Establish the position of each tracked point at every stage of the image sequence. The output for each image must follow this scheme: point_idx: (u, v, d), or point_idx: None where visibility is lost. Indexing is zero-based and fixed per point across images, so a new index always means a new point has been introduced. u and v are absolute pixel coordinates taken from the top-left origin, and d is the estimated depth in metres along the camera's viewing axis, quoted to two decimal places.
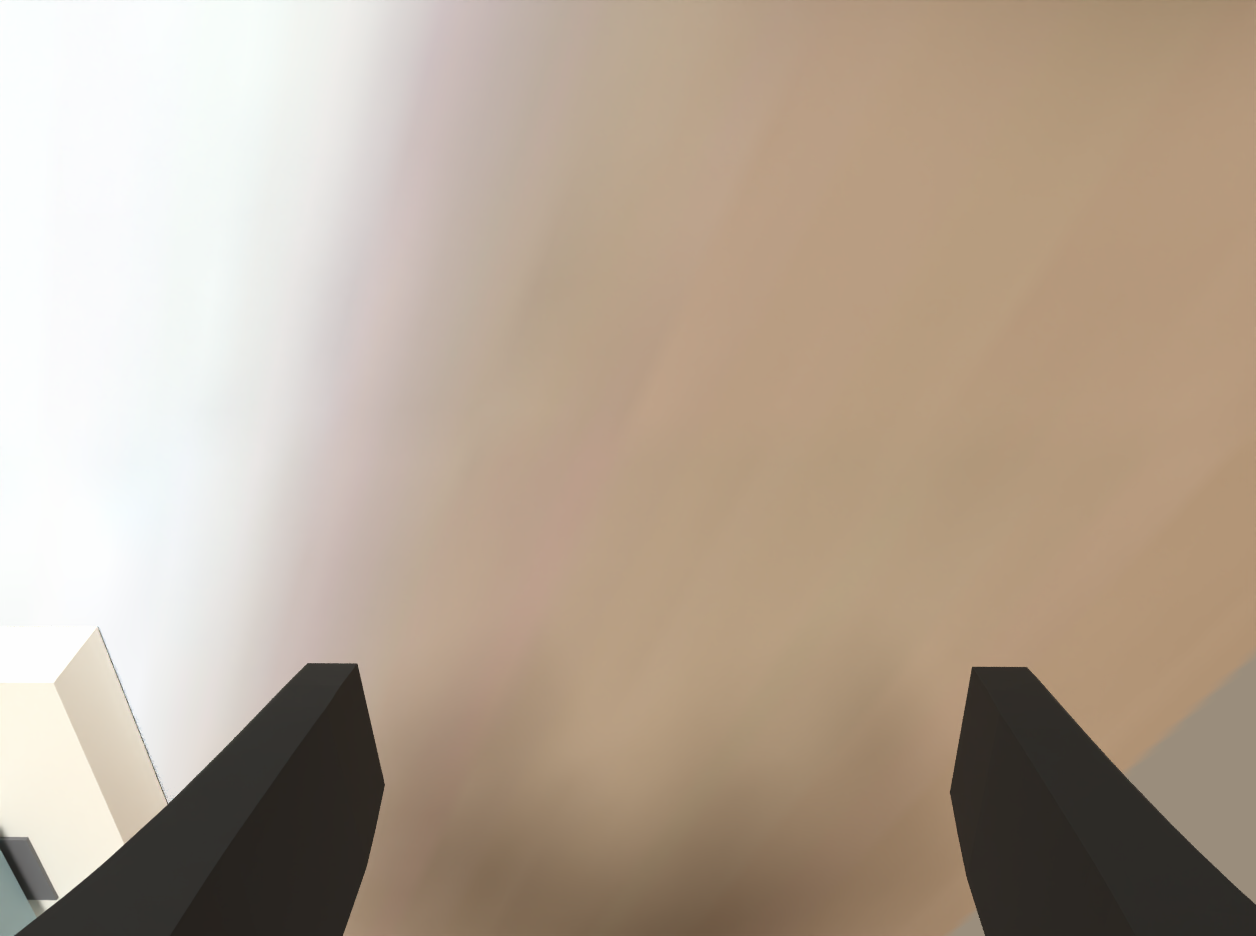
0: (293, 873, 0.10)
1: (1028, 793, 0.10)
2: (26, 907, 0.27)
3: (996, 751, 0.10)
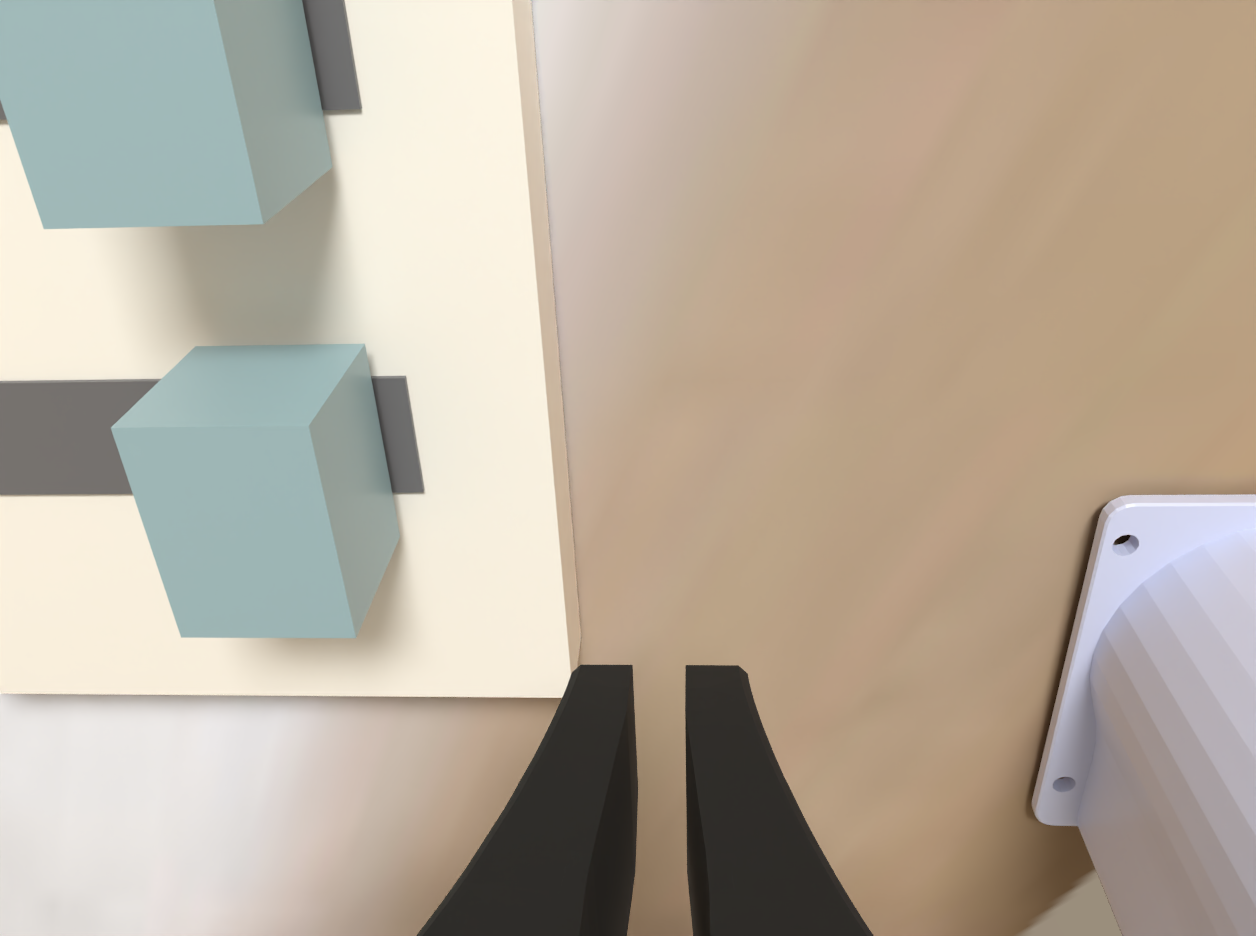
0: (612, 879, 0.10)
1: (693, 789, 0.10)
2: (317, 96, 0.15)
3: (687, 748, 0.11)
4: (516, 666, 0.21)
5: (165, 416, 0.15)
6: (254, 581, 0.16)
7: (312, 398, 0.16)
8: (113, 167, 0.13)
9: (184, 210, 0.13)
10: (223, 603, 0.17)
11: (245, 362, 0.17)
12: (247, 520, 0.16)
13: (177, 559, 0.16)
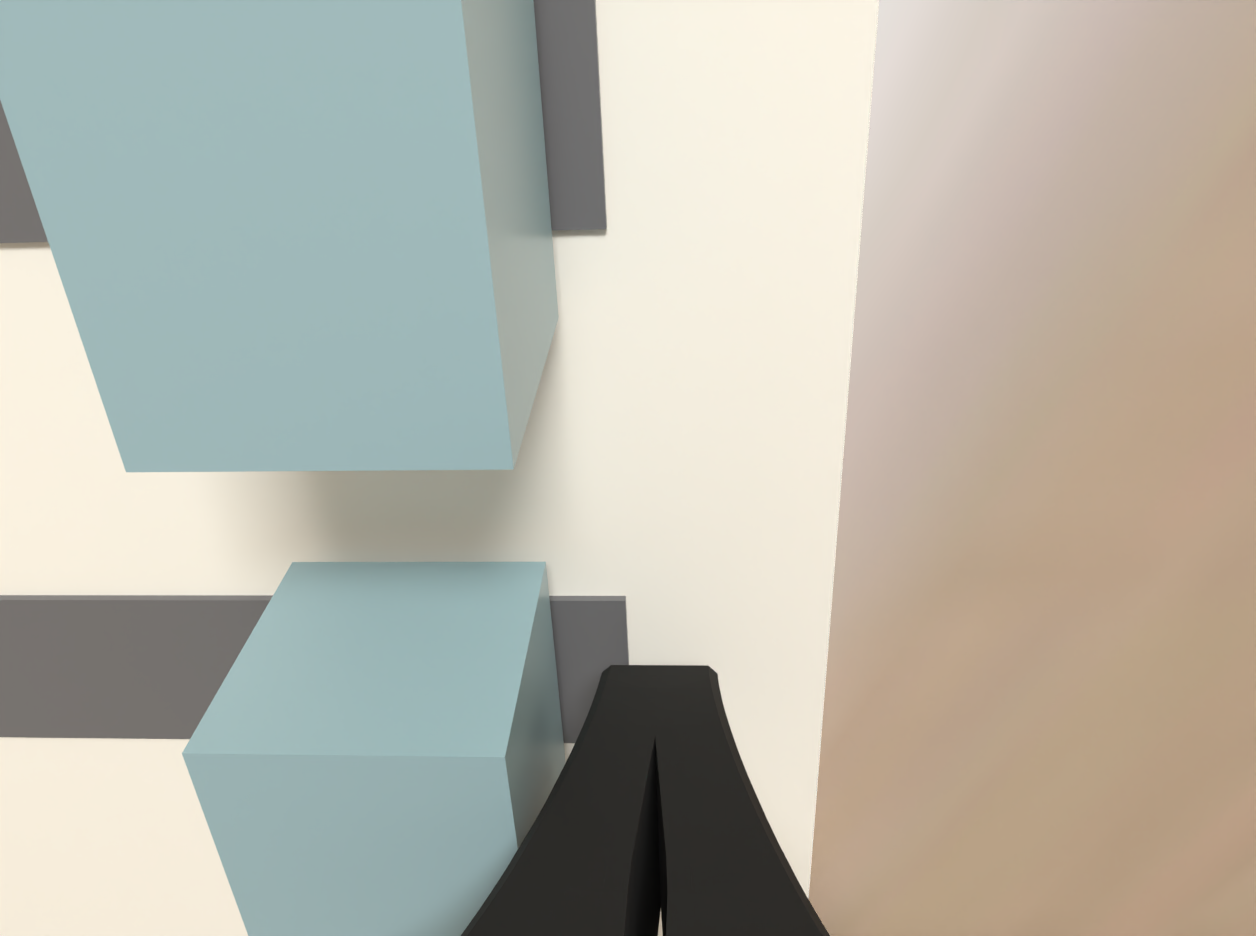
0: (647, 880, 0.10)
1: (658, 788, 0.10)
2: (549, 214, 0.09)
3: None
4: None
5: (267, 725, 0.10)
6: None
7: (495, 686, 0.10)
8: (254, 377, 0.07)
9: (375, 446, 0.08)
10: None
11: (373, 601, 0.11)
12: (391, 875, 0.10)
13: (277, 920, 0.10)
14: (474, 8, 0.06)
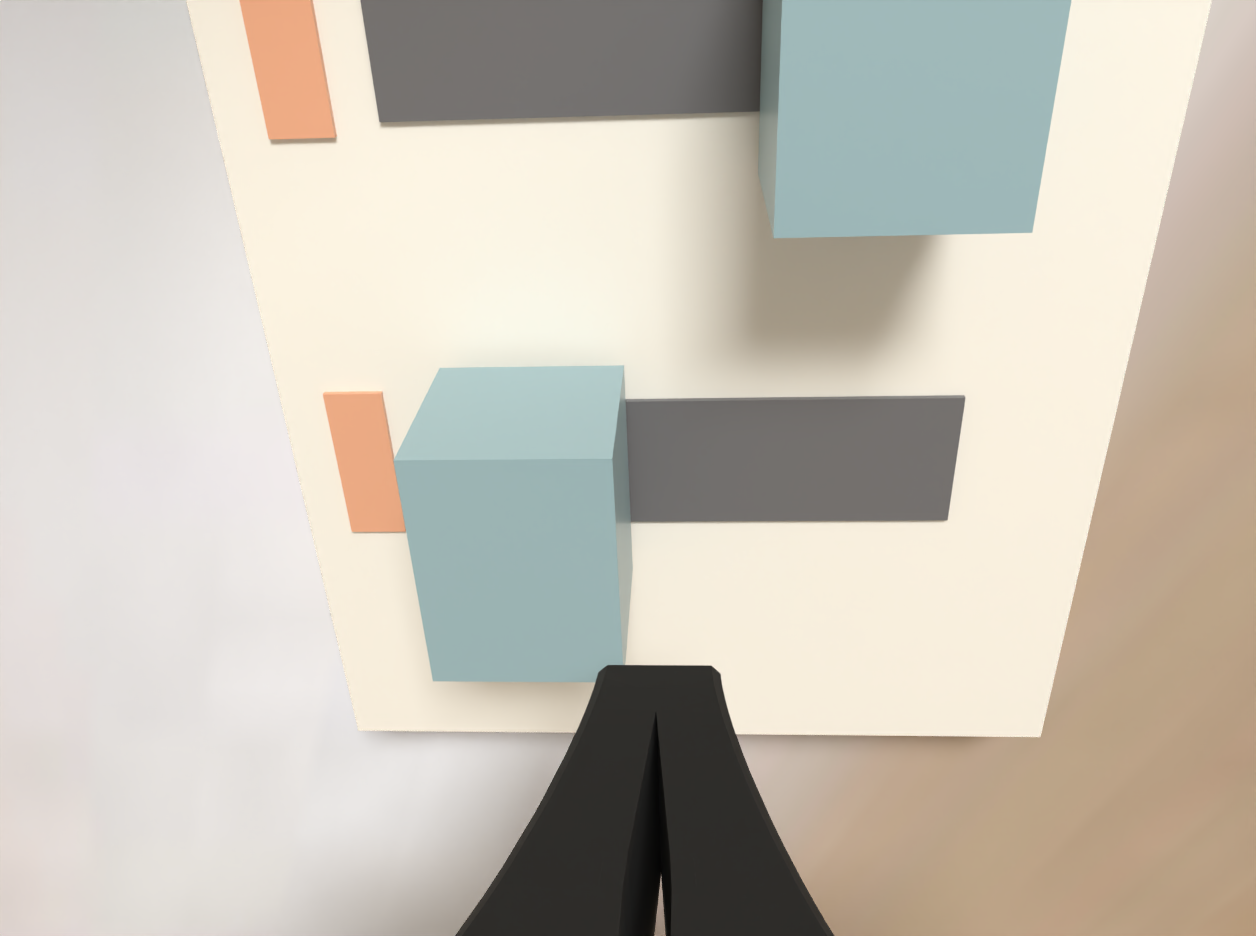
0: (643, 880, 0.10)
1: (662, 788, 0.10)
2: None
3: (658, 747, 0.11)
4: (988, 704, 0.20)
5: (446, 447, 0.14)
6: (523, 622, 0.15)
7: (599, 427, 0.14)
8: (880, 168, 0.12)
9: (944, 217, 0.12)
10: (485, 645, 0.15)
11: (504, 386, 0.16)
12: (527, 558, 0.15)
13: (443, 599, 0.15)
14: None
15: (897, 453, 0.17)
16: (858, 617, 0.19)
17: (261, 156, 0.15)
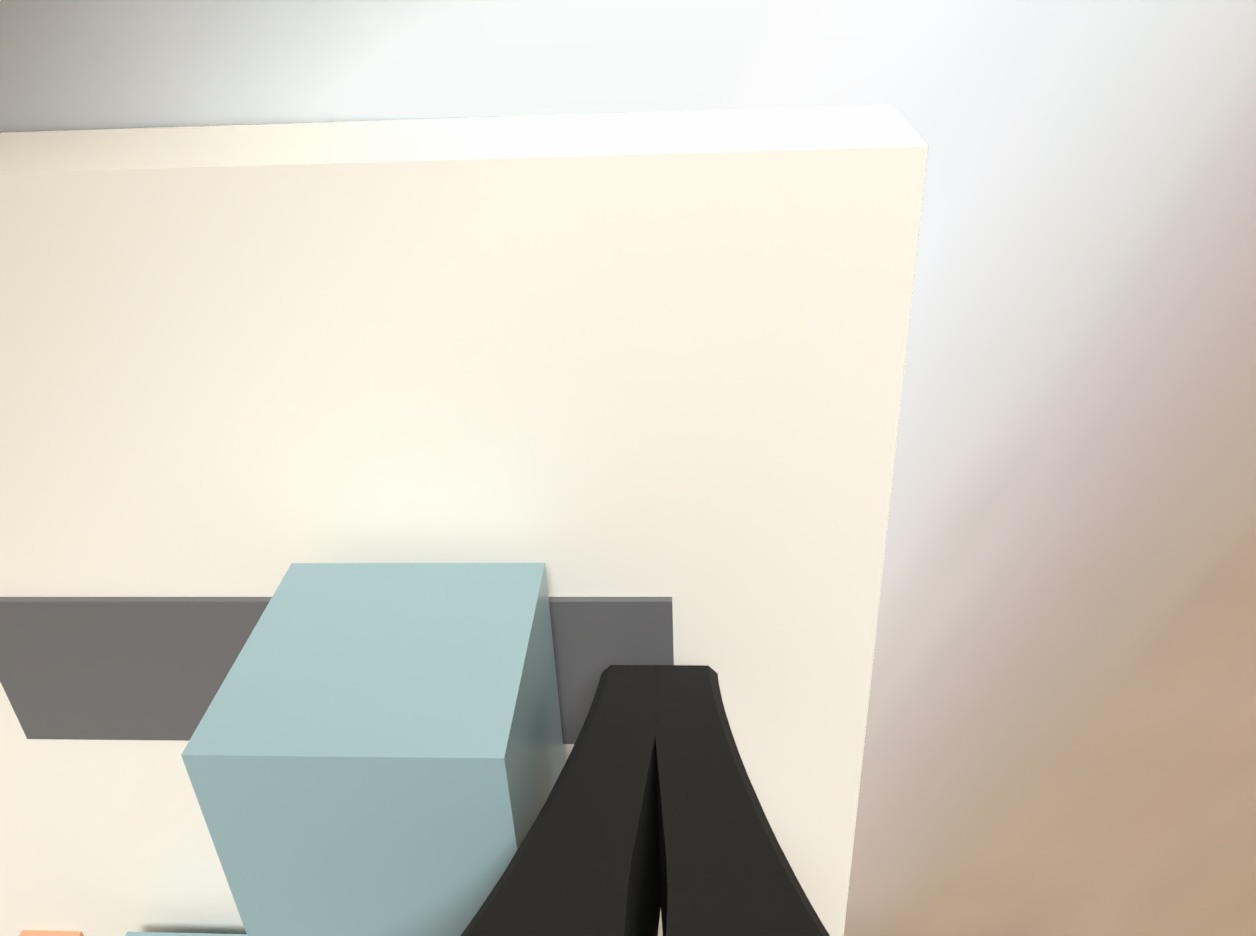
0: (647, 880, 0.10)
1: (658, 788, 0.10)
2: (562, 753, 0.13)
3: None
4: None
5: None
6: None
7: None
8: None
9: None
10: None
11: None
12: None
13: None
14: (519, 793, 0.10)
15: None
16: None
17: None
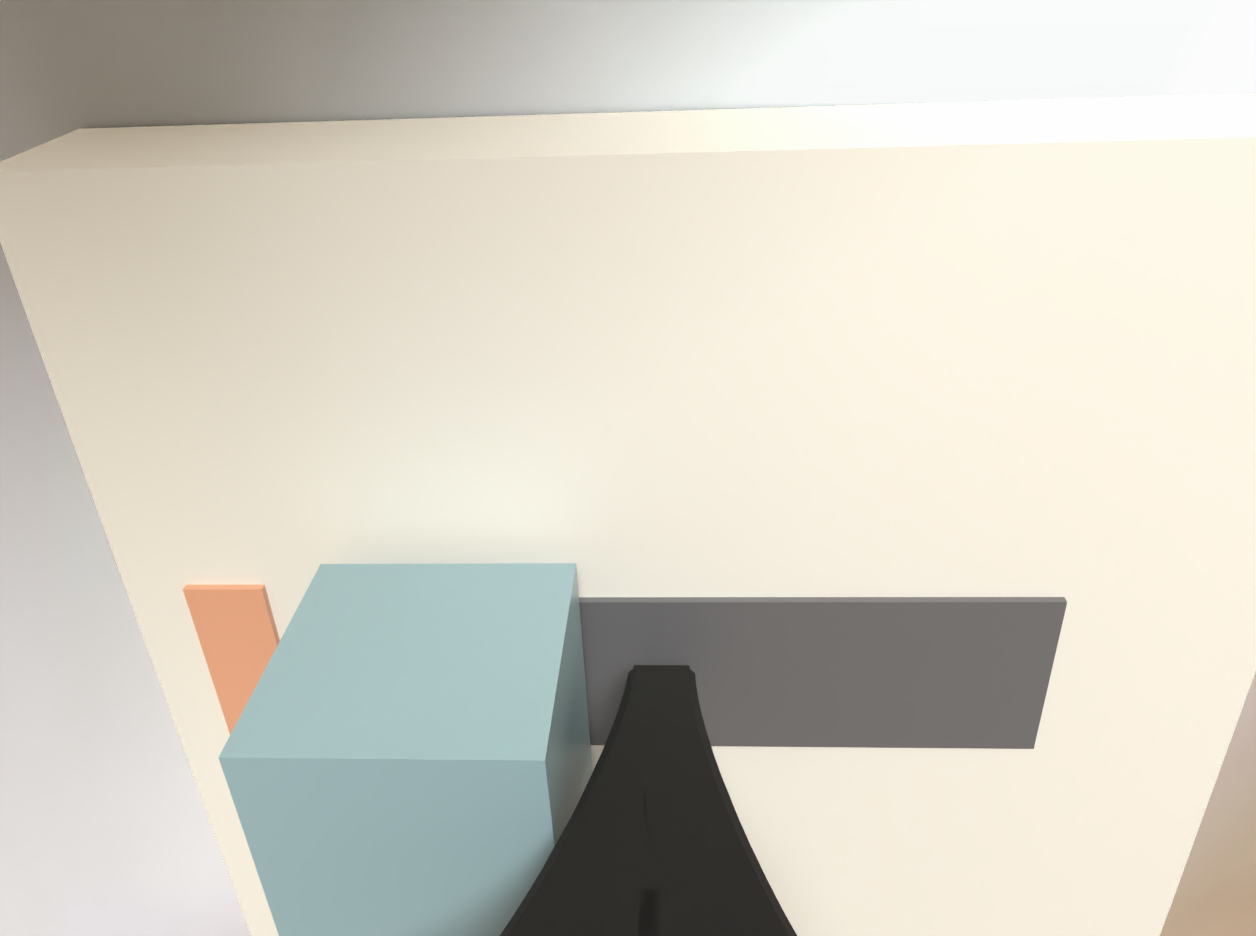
0: None
1: None
2: (590, 754, 0.13)
3: None
4: None
5: None
6: None
7: None
8: None
9: None
10: None
11: None
12: None
13: None
14: (556, 795, 0.10)
15: None
16: None
17: None
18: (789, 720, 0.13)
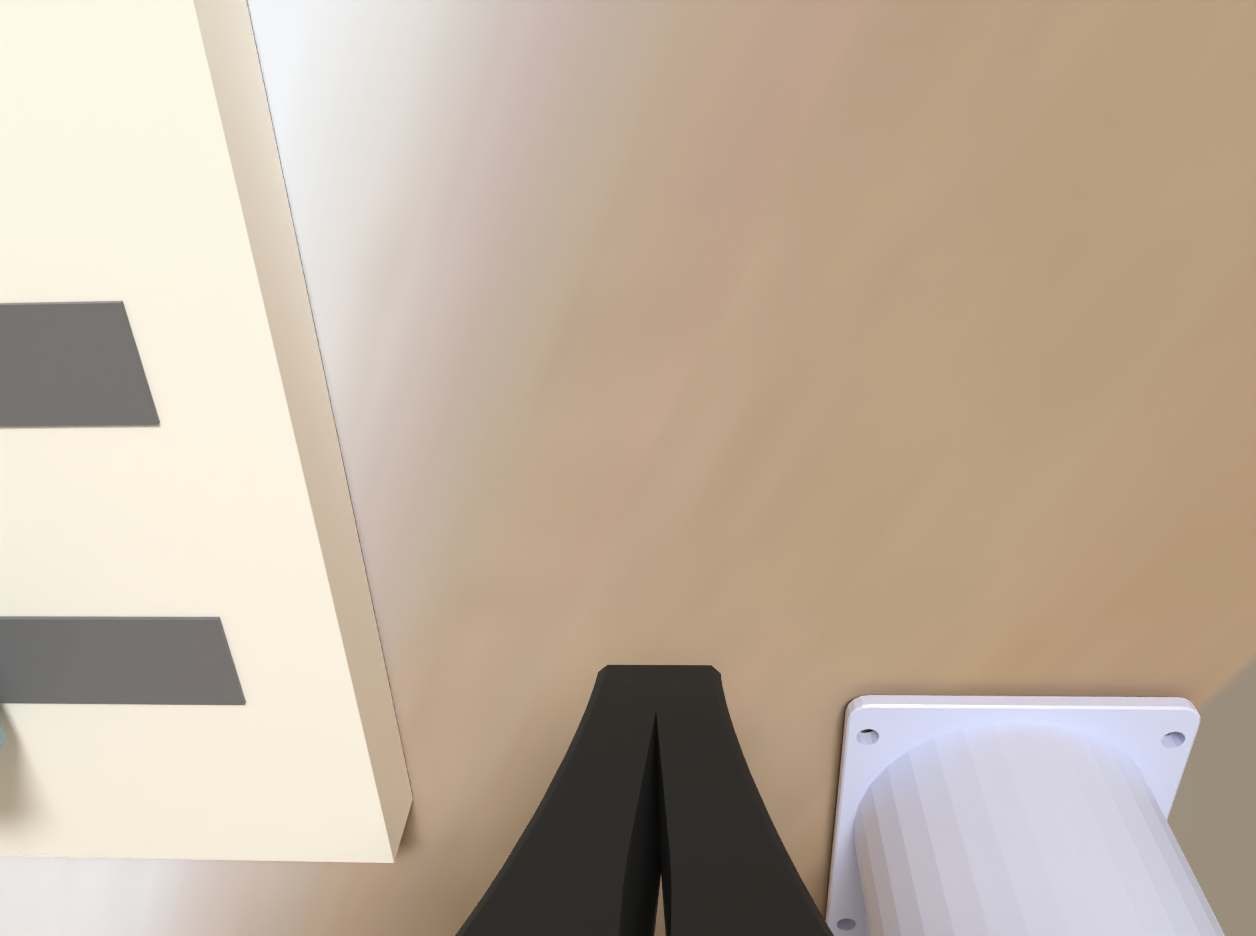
0: (642, 881, 0.10)
1: (662, 788, 0.10)
2: None
3: (658, 747, 0.11)
4: (341, 838, 0.25)
5: None
6: None
7: None
8: None
9: None
10: None
11: None
12: None
13: None
14: None
15: (188, 657, 0.22)
16: (211, 773, 0.24)
17: None
18: None
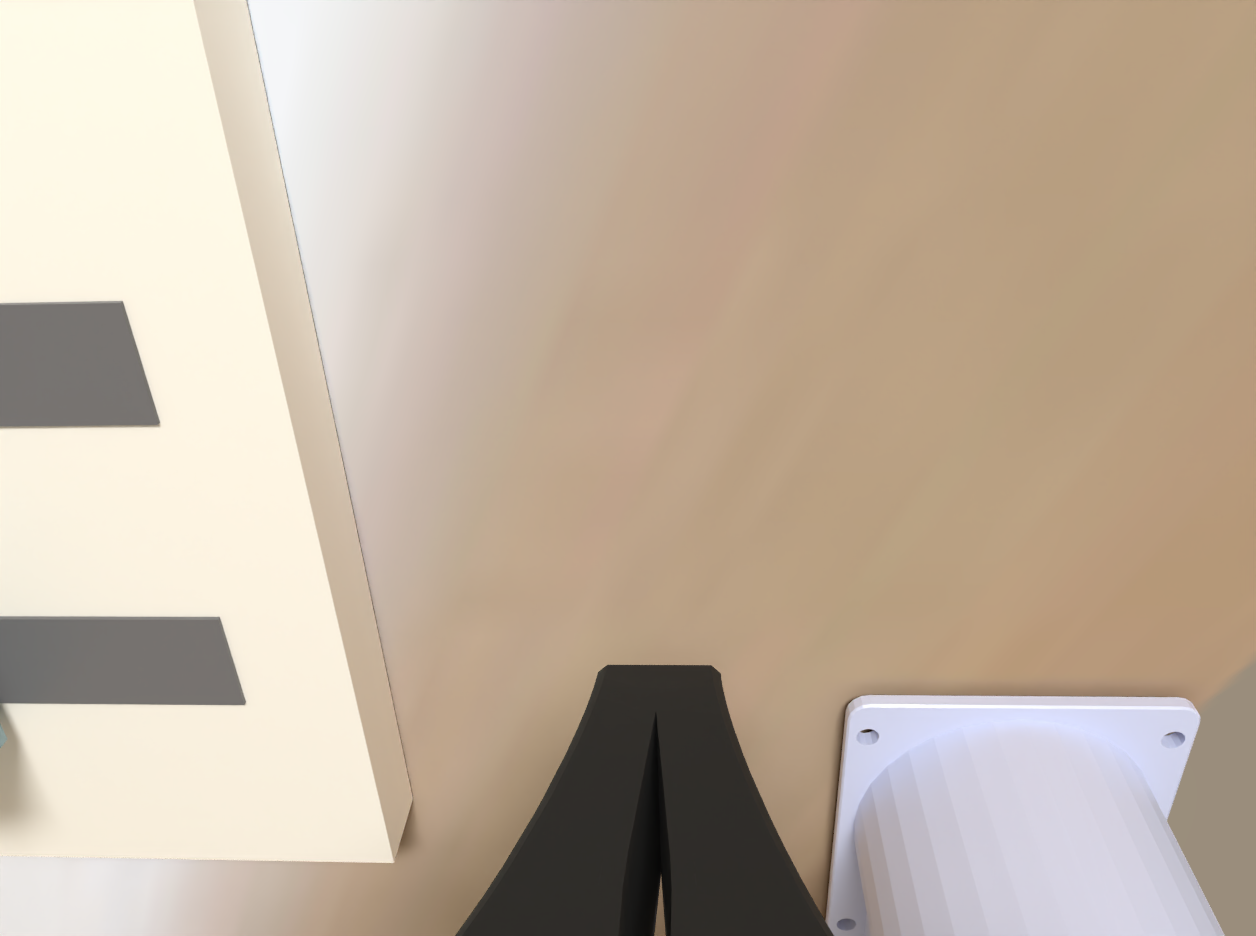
0: (642, 881, 0.10)
1: (662, 788, 0.10)
2: None
3: (658, 747, 0.11)
4: (341, 838, 0.25)
5: None
6: None
7: None
8: None
9: None
10: None
11: None
12: None
13: None
14: None
15: (188, 657, 0.22)
16: (211, 773, 0.24)
17: None
18: None
